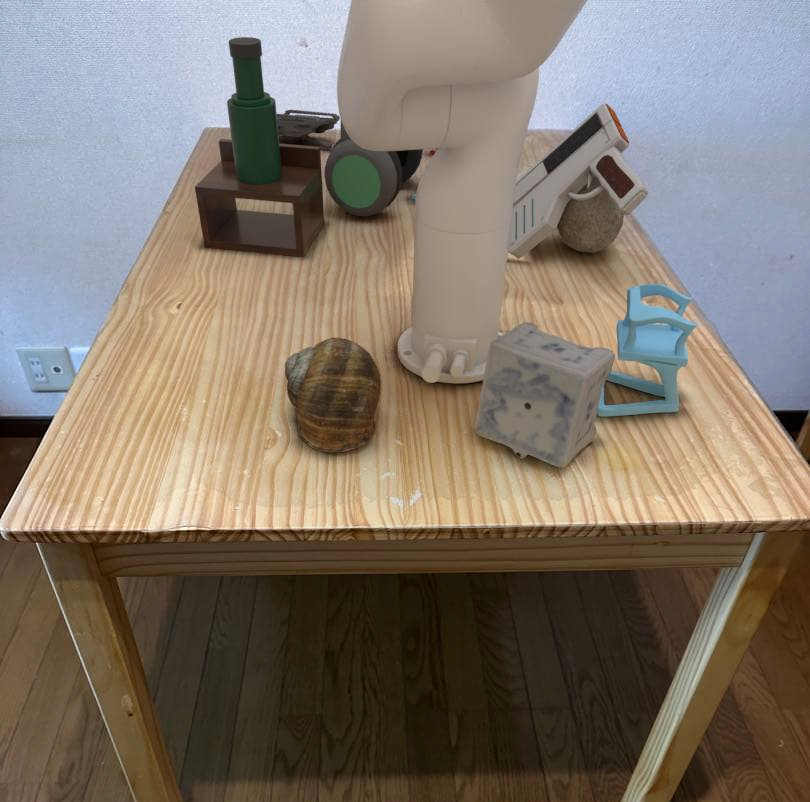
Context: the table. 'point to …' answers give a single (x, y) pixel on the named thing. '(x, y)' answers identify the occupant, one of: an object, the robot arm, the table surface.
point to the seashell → (334, 394)
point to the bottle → (252, 117)
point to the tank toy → (305, 126)
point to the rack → (262, 228)
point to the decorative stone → (590, 221)
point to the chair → (651, 349)
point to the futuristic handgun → (574, 179)
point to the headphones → (367, 175)
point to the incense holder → (541, 394)
